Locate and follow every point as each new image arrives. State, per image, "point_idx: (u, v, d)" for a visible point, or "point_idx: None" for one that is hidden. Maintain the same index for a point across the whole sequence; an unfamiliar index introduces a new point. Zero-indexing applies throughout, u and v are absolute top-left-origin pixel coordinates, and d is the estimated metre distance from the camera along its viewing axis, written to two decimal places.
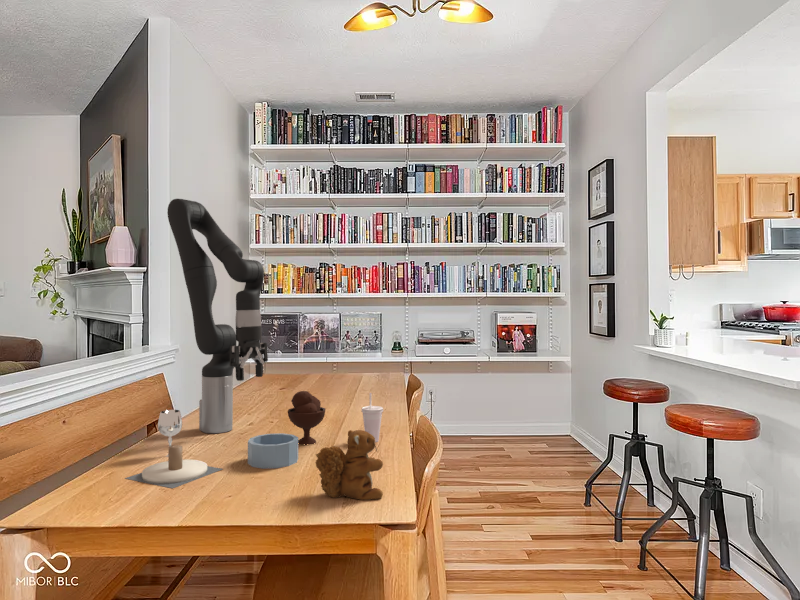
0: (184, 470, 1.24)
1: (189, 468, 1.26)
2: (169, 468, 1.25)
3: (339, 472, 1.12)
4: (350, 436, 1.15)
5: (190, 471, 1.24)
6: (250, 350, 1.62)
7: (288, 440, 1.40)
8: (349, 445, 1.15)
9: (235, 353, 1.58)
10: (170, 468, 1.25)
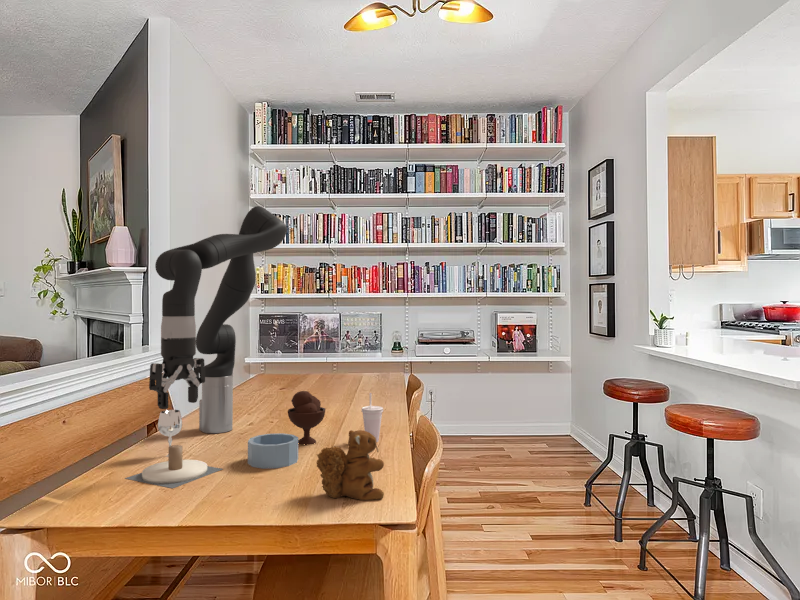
0: (184, 470, 1.24)
1: (189, 468, 1.26)
2: (169, 468, 1.25)
3: (340, 472, 1.12)
4: (351, 436, 1.15)
5: (190, 471, 1.24)
6: (179, 369, 1.24)
7: (288, 440, 1.40)
8: (350, 445, 1.14)
9: (156, 373, 1.19)
10: (170, 468, 1.25)
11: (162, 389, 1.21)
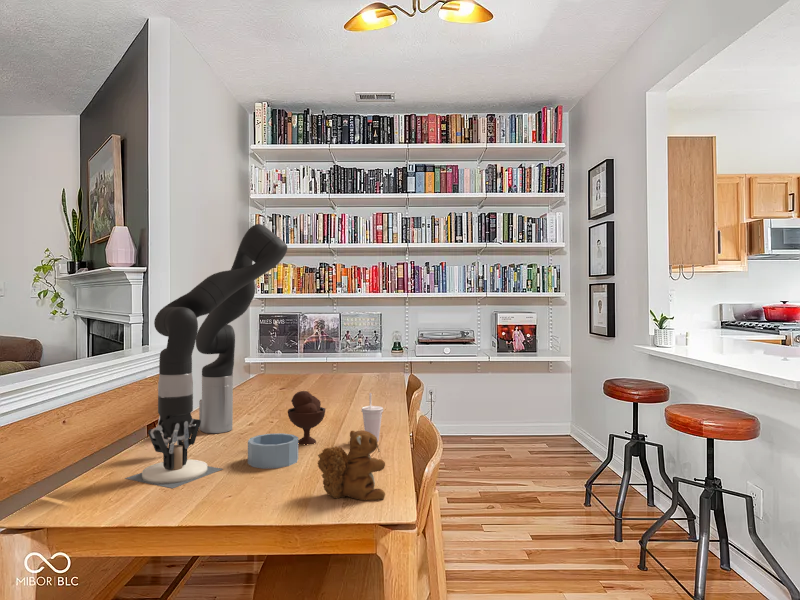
0: (184, 470, 1.24)
1: (189, 468, 1.26)
2: None
3: (341, 472, 1.12)
4: (352, 436, 1.15)
5: (190, 470, 1.24)
6: (176, 428, 1.24)
7: (288, 440, 1.40)
8: (351, 445, 1.14)
9: (157, 440, 1.20)
10: None
11: (168, 452, 1.23)
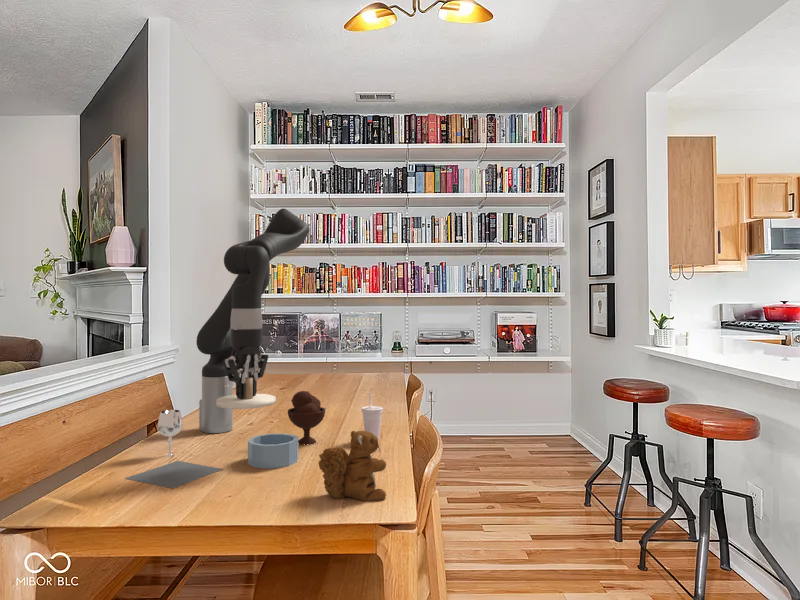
0: (255, 399, 1.31)
1: (259, 398, 1.33)
2: None
3: (342, 473, 1.12)
4: (353, 437, 1.15)
5: (261, 400, 1.31)
6: (248, 359, 1.31)
7: (288, 440, 1.40)
8: (352, 446, 1.14)
9: (231, 368, 1.28)
10: None
11: (240, 381, 1.30)
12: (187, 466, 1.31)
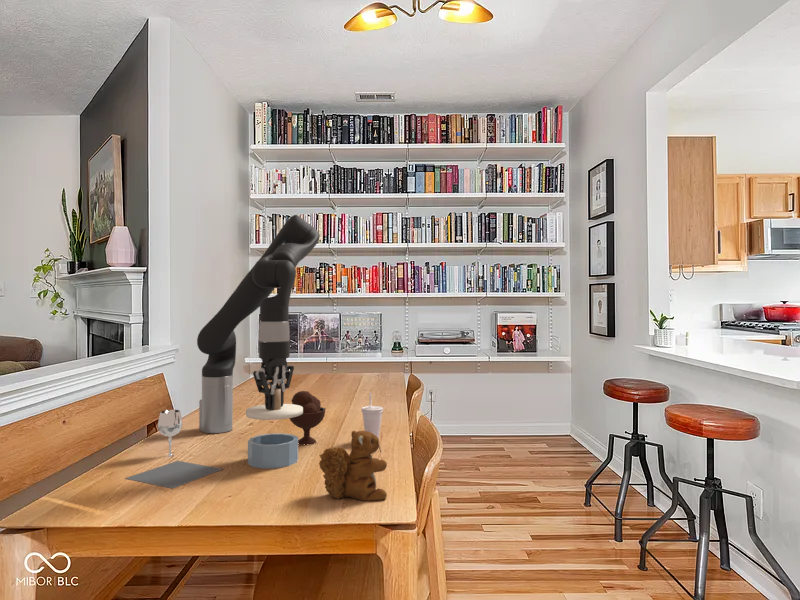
0: (284, 410, 1.35)
1: (288, 409, 1.36)
2: None
3: (343, 473, 1.12)
4: (354, 437, 1.15)
5: (289, 410, 1.34)
6: (276, 371, 1.34)
7: (288, 440, 1.40)
8: (353, 446, 1.14)
9: (261, 380, 1.31)
10: None
11: (269, 393, 1.33)
12: (187, 466, 1.31)
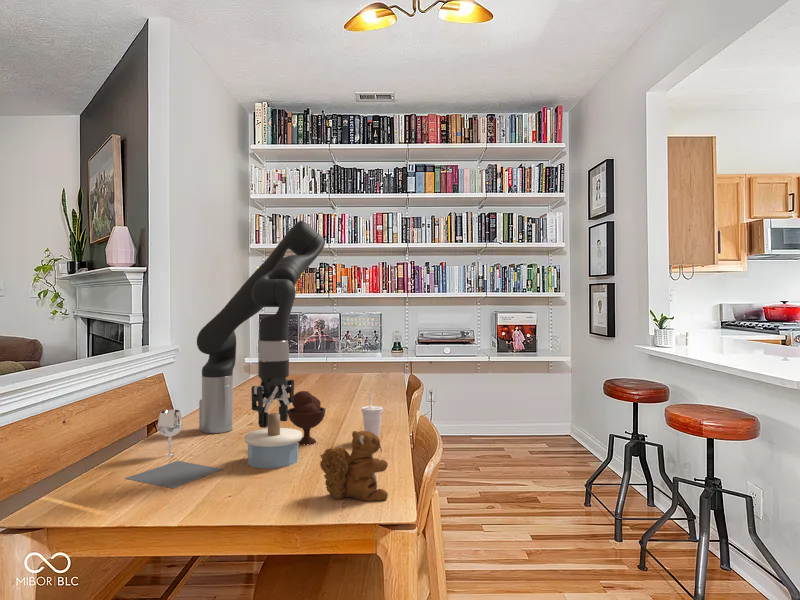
0: (283, 436, 1.35)
1: (287, 434, 1.36)
2: (269, 434, 1.35)
3: (344, 473, 1.12)
4: (355, 437, 1.15)
5: (289, 436, 1.34)
6: (275, 390, 1.34)
7: None
8: (354, 446, 1.14)
9: (258, 396, 1.30)
10: (270, 434, 1.35)
11: (263, 410, 1.31)
12: (187, 466, 1.31)
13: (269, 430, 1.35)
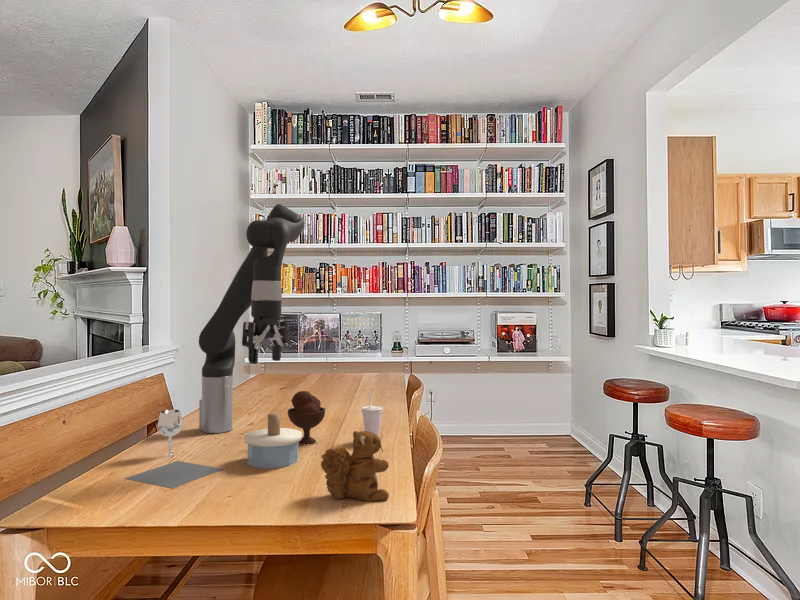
0: (283, 436, 1.35)
1: (287, 434, 1.36)
2: (269, 434, 1.35)
3: (345, 473, 1.11)
4: (356, 437, 1.15)
5: (289, 436, 1.34)
6: (267, 328, 1.37)
7: None
8: (355, 446, 1.14)
9: (249, 331, 1.32)
10: (270, 434, 1.35)
11: (253, 345, 1.34)
12: (187, 466, 1.31)
13: (269, 430, 1.35)
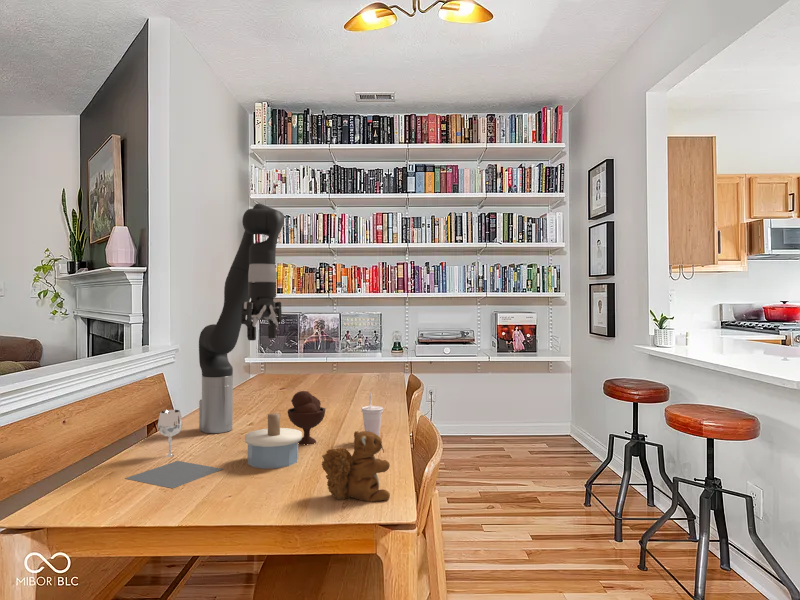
0: (283, 436, 1.35)
1: (287, 434, 1.36)
2: (269, 434, 1.35)
3: (346, 473, 1.11)
4: (357, 437, 1.15)
5: (289, 436, 1.34)
6: (263, 308, 1.48)
7: None
8: (356, 446, 1.14)
9: (247, 310, 1.44)
10: (270, 434, 1.35)
11: (251, 323, 1.45)
12: (187, 466, 1.31)
13: (269, 430, 1.35)
